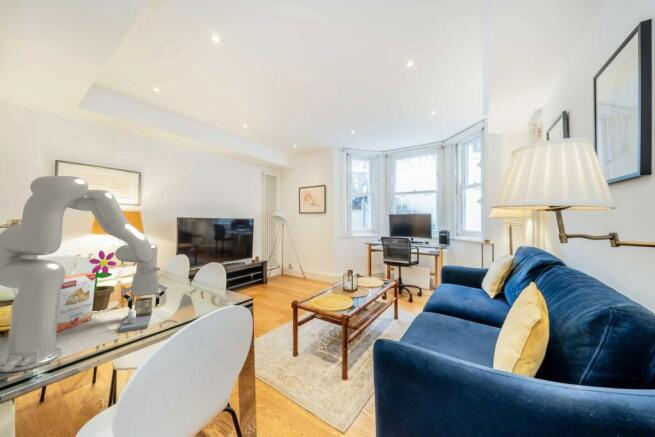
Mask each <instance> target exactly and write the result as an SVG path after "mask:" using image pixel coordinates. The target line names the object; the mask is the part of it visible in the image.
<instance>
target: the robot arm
mask: <svg viewBox="0 0 655 437" xmlns="http://www.w3.org/2000/svg"><path fill="white" fill-rule="evenodd" d="M29 186H30V187H29V188H30V192H31V194H32V195H30V196H29V198H27V199H26V202H25V204H24V207H23V209H22V215H21V223H20V224H19V225H16V224H15V225H12V226H10V227H8V228H5V229H4V230H3V231H1V232H0V286H2V287H5V288H9V289H18V292H17V293H16V295H15V297H14V299H13V301H12V304H11V311H10V324H9V334H8V335H9V336H8V345H7V358H5V359H3V360H2V361H1V362H0V372H1V373H13V372H20V371H26V370H29V369H34V368H37V367H41V366H43V365H45V364H48V363H51V362H52V361H54V360H56V359H57V358H59V357H60V356H61V355H62V353H63V352H62V348H60V347H56V342H57V333H56V331H57V319H58V308H59V307H58V306H59V297H60V291H61V288H62V285H63V282H64V279H65V276H66V270H65V267H64V266H63V264H61V263H60V262H57V261H54V260H51V259H45V258H43V259H41V258H39V256H47V255H51V254H53V253H56V252H57V251H59V249H60V247H61V244H62V240H63V225H64V224H63V223H64V221H63V220H64V215H65V212H66V210H67V208H69V209H73V210H77V211H83V212H91V214H92V216H93V217H94V218H95V220H96V221H97V223H98V224H99V226H100V228H101V229H102V231H103V232H104V233H106V234H108V235H109V236H111V237H115V238H116V239H119V240H121V241H123V242H124V243H126V244H125V245H124V244H123V245H121V246H119V247H118V248H116V250H115V252H114V257H115V258H116V259H117V260H118V261H120V262H124V263H136V272H135V273H134V274H133V276H132V277H133V278H132V282H131V286H129V287H126V288H124V289H123V290H121V291H120V294H121V295H122V297H123V298H124V299H125V300H127V308H128V310H129V311H130V310H133V309H132V308H133V302H134V299H133V298H134V297H142V296H151V295H154V296H155V307H158V305H159V304H160V300H161V299H160V298H161V297H162V296H163V295H164V294H165V292H166V291H167V289H168V287H167V286H165V285H161V284H159V283H160V282H159V280H160V279H159V272H158V271H161V270H160V269H161V267H159V266H158V265H157V262H158V247H159V246H158V245H157V244H153V243H150V241H149V239H148V238H147V236H146V235H145V234H144V233H143V232H141V231H140V230H139V229H138V228H137V227H135V226H134V225H133V224H131V223H130V222H129V220H128V219H127V217H126V216H125V214H124V212H123V210H122V208H121V207H120V204H119V202H118V201H117V199H116V197H115V196H114V195H113V193H111V192H110V191H107V190H104V189H89V184H88V183H87V182H86V180H84V179H83V178H81V177H78V176H72V175H57V176H56V175H48V176H47V175H46V176H40V177H37V178H35V179H33V180H32V182H31V183H30V185H29ZM157 266H158V267H157ZM159 289H160V290H161V291H160V292H159ZM129 291H130V295H129V294H127V292H129Z"/></svg>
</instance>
